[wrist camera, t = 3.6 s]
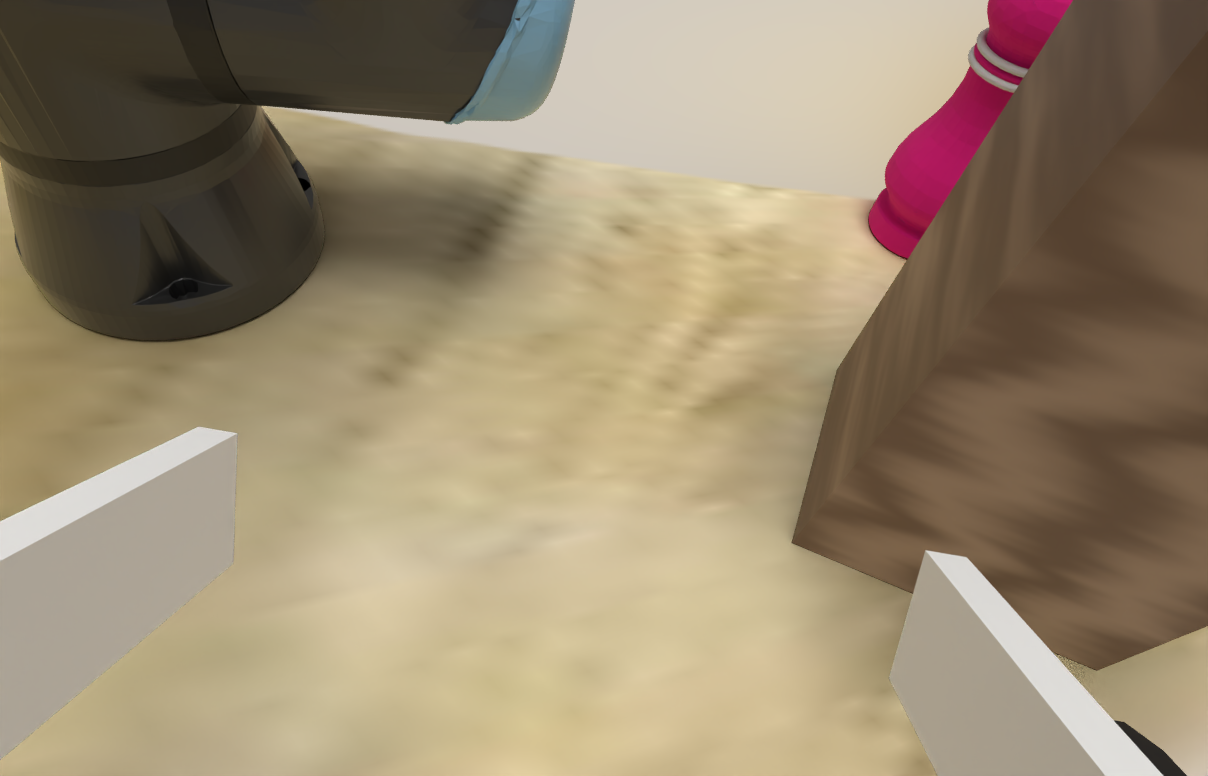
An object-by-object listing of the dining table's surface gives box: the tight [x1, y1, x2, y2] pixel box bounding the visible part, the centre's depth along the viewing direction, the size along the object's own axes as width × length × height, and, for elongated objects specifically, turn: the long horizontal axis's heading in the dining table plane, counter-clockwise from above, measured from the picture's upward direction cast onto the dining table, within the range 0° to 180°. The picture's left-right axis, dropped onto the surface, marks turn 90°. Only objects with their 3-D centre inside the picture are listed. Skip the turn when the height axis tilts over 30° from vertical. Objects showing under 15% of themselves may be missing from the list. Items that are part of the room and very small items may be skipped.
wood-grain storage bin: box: [792, 0, 1208, 670], centre depth 26 cm, size 17×14×32 cm
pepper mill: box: [868, 0, 1073, 259], centre depth 43 cm, size 7×7×20 cm
